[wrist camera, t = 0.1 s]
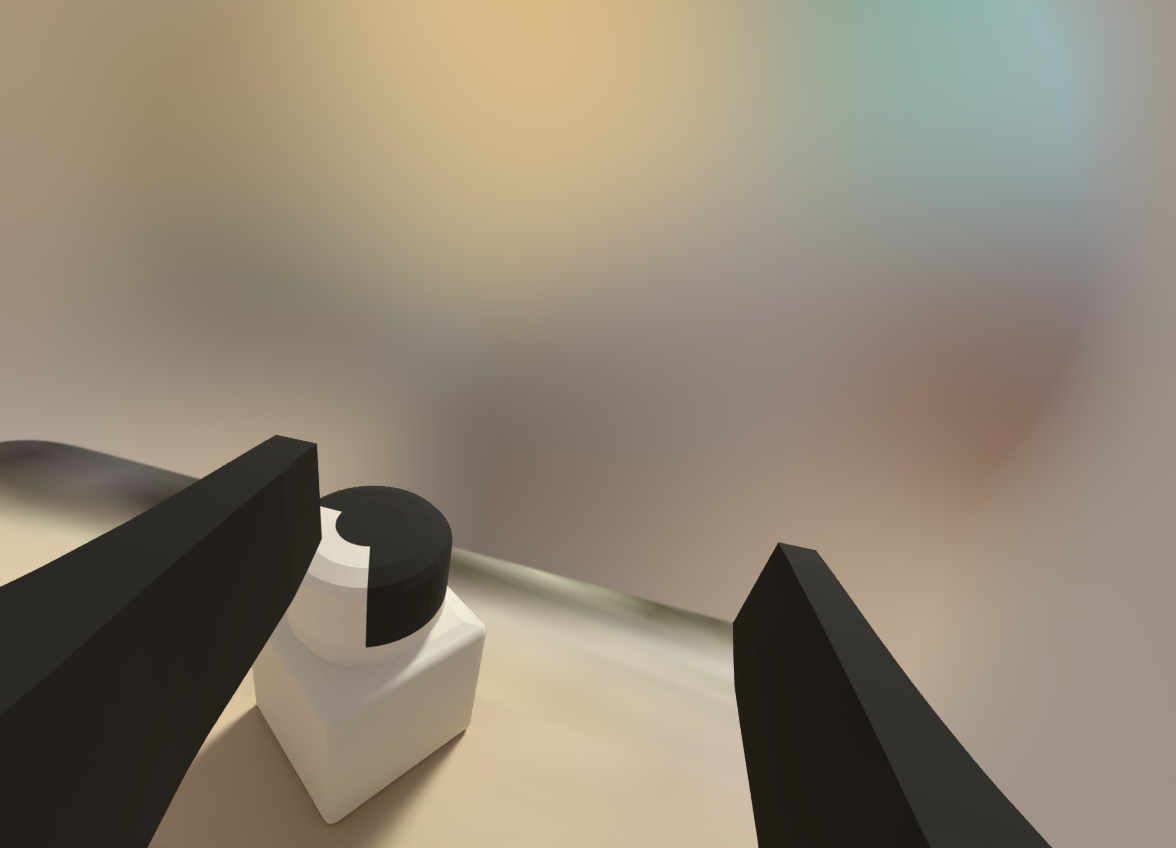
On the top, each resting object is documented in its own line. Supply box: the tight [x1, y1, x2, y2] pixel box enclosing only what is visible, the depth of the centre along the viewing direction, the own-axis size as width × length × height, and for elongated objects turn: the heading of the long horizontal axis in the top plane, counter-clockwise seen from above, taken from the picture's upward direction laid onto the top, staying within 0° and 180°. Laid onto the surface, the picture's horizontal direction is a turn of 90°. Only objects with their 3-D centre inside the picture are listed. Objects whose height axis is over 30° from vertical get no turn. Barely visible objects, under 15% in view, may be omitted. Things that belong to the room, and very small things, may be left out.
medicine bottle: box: [252, 486, 486, 824], centre depth 26 cm, size 7×7×12 cm
